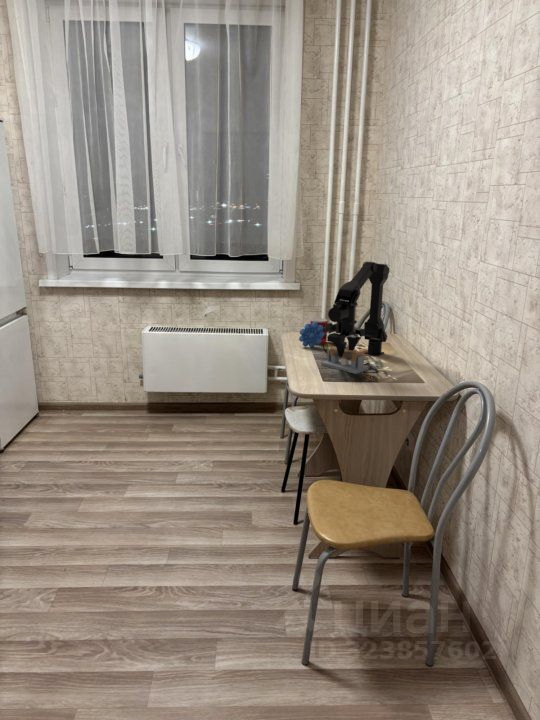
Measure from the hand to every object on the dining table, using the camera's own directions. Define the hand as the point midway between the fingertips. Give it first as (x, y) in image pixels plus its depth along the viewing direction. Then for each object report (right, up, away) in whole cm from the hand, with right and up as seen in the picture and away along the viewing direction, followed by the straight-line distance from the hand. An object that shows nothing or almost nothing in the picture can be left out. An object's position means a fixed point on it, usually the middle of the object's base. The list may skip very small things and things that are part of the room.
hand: (345, 355), depth 217 cm
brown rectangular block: (0, -1, 0) cm, 1 cm away
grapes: (-11, +4, +31) cm, 33 cm away
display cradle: (0, -5, +1) cm, 5 cm away
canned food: (-8, +7, +39) cm, 40 cm away
